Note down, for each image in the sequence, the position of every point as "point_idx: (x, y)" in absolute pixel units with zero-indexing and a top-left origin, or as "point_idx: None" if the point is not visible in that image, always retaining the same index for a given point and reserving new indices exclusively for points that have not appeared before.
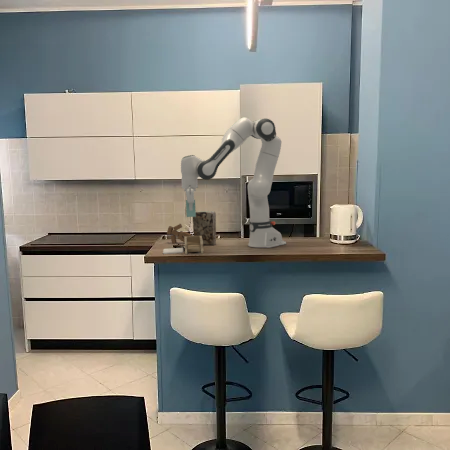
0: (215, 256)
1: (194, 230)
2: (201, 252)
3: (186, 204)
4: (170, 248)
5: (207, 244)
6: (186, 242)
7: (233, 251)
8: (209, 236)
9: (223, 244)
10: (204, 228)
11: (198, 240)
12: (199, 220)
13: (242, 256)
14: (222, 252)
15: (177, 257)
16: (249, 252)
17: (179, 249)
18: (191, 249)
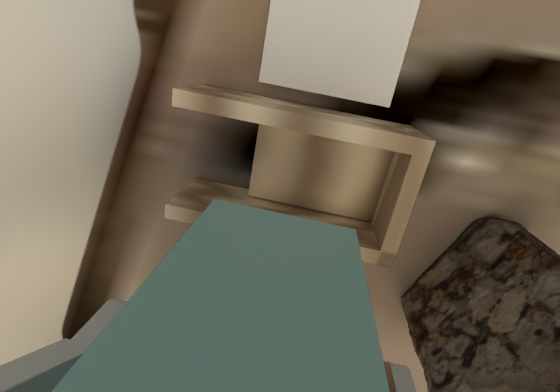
0: (103, 223)
1: (544, 263)
2: (193, 181)
3: (87, 360)
4: (417, 10)
5: (425, 274)
6: (174, 103)
7: None
8: (428, 317)
9: (395, 345)
10: (477, 336)
11: (377, 227)
12: (554, 367)
13: (73, 318)
14: None
15: (135, 19)
16: None
17: (339, 71)
18: (257, 140)
